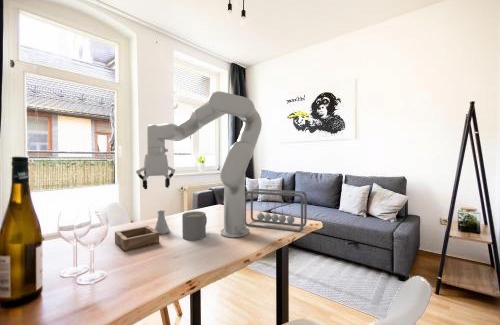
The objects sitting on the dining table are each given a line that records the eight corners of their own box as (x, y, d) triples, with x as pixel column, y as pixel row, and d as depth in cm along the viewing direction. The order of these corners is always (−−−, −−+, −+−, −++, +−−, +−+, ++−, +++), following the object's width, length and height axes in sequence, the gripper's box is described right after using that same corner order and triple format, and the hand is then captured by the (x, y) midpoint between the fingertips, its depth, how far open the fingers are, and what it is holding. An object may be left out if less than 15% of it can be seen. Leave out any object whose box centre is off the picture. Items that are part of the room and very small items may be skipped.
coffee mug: (192, 242, 100) (192, 217, 99) (177, 237, 105) (177, 214, 105) (215, 233, 110) (215, 211, 110) (201, 229, 116) (200, 209, 116)
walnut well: (159, 243, 98) (159, 232, 98) (124, 252, 89) (124, 240, 89) (147, 235, 107) (147, 225, 107) (114, 242, 99) (114, 231, 98)
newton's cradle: (306, 226, 121) (306, 191, 121) (302, 232, 112) (303, 194, 111) (251, 220, 133) (251, 188, 132) (243, 225, 123) (243, 190, 122)
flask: (172, 230, 115) (172, 209, 115) (165, 235, 108) (165, 213, 108) (157, 229, 116) (157, 209, 116) (150, 234, 109) (149, 212, 109)
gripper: (172, 151, 120) (172, 186, 121) (134, 151, 110) (134, 188, 110) (177, 151, 114) (177, 187, 115) (137, 150, 104) (138, 190, 104)
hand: (156, 188), depth 112 cm, fingers open, 9 cm apart
